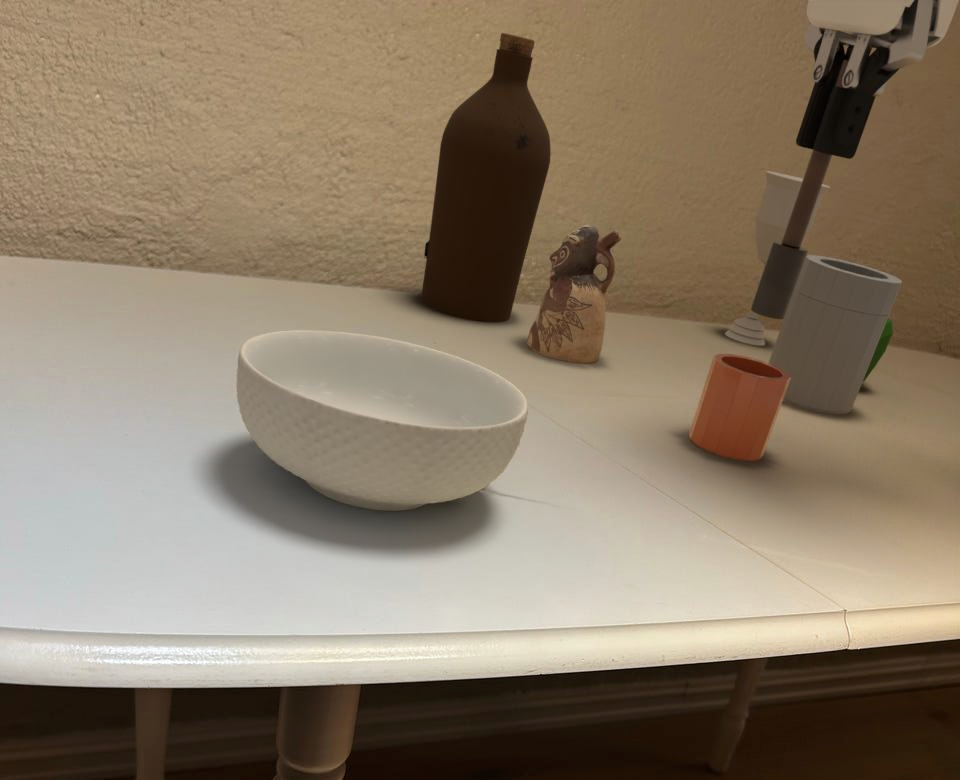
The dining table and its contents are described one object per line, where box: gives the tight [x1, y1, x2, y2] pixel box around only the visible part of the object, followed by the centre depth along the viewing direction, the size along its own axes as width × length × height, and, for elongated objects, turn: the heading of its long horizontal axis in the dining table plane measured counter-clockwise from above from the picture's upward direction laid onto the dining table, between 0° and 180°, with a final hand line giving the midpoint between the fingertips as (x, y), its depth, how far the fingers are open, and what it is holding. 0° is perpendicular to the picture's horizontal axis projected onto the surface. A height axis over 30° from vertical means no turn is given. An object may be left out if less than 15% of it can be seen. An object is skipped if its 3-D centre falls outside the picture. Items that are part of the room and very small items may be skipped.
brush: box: [750, 60, 849, 320], centre depth 74 cm, size 3×3×17 cm
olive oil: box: [420, 32, 552, 323], centre depth 102 cm, size 11×11×25 cm
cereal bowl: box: [236, 329, 529, 512], centre depth 62 cm, size 17×17×7 cm
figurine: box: [526, 224, 622, 364], centre depth 97 cm, size 7×7×12 cm
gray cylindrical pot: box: [767, 254, 903, 415], centre depth 101 cm, size 9×9×13 cm
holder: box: [688, 353, 791, 462], centre depth 82 cm, size 6×6×7 cm
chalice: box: [724, 170, 831, 347], centre depth 119 cm, size 7×7×18 cm
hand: (824, 150), depth 73 cm, fingers closed on brush, 1 cm apart
